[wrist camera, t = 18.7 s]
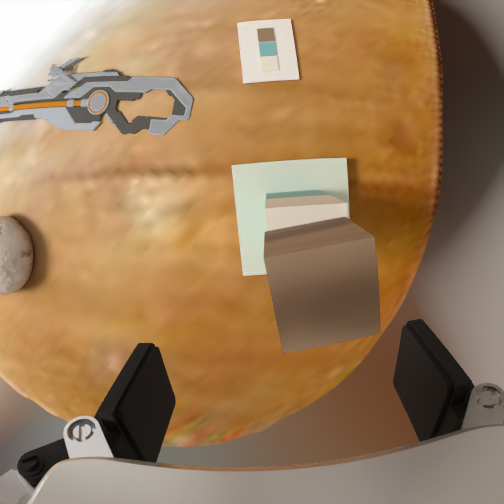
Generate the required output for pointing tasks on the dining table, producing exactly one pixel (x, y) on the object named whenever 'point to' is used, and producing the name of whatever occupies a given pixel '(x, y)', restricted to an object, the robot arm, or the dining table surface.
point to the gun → (94, 101)
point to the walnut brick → (322, 283)
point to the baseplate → (273, 181)
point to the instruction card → (267, 51)
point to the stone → (14, 255)
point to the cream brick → (302, 210)
